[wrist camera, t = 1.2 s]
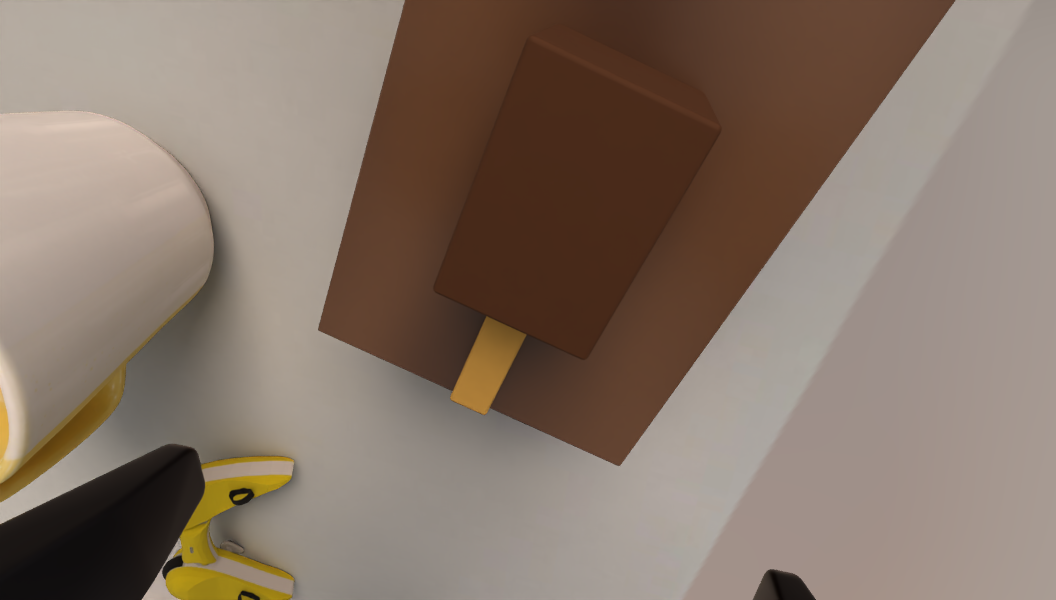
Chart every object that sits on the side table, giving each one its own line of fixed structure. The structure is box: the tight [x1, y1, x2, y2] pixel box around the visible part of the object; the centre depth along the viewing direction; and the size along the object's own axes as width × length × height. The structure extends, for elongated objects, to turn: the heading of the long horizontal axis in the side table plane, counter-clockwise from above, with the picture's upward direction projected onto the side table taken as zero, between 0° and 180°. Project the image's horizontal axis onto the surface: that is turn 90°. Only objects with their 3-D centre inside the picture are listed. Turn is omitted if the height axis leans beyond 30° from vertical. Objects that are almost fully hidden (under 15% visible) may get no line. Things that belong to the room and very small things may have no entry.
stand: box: [318, 0, 955, 466], centre depth 16 cm, size 9×13×7 cm
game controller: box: [162, 456, 295, 600], centre depth 30 cm, size 10×6×4 cm, turn 168°
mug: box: [0, 111, 214, 502], centre depth 20 cm, size 14×10×10 cm
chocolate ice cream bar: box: [433, 24, 722, 415], centre depth 12 cm, size 3×9×3 cm, turn 157°
